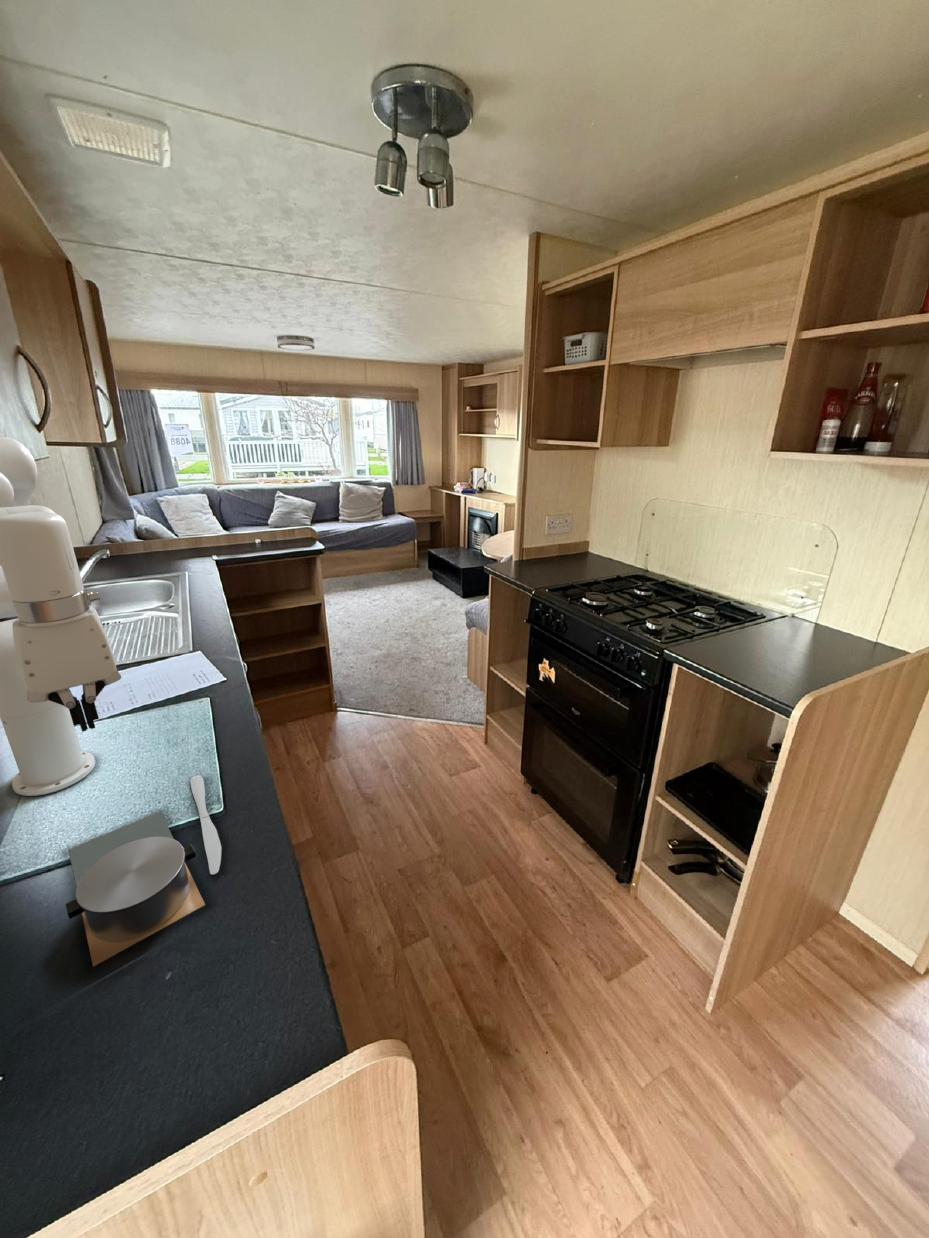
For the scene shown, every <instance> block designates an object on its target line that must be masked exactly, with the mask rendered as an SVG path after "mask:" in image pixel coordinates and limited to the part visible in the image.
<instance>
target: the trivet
mask: <svg viewBox="0 0 929 1238" xmlns="http://www.w3.org/2000/svg"><path fill="white" fill-rule="evenodd" d="M184 863H185V867H186V871H187V875H188V879H189V891H188V895H187V897H186V899H185V901H184V903H183V904H182V906H181V907H180V908H179V910H178V911H177V912H176V913H175V914H174V915H173V916H172V917H171V918H170V919H169V920H167V921H166V922H165V923H164V924H162V925H161V926H159V927H158V928H156V929H154V930H153V931H151V932H149V933H147V934H145V935H142V936H140V937H137V938H134V939H131V940H127V941H121V942H106V941H103V940H100V939H98V938H96V937H95V936H94V935H93V934H92V932H91V930H90V927H89V925H88V922H87V919H86V916H85V913H84V912H83V913H81V916H82V920H83V925H84V930H85V935H86V940H87V944H88V948H89V953H90V958H91V963H92V967H95V966H97V965H99V964H101V963H102V962H105V961H106V960H109V959H110V958H111V957H114V956H115V955H118V954H119V953H121V952H123V951H125V950H126V949H128V948H130V947H132V946H134V945H135V944H138V943H139V942H141V941H142V940H144V939H146V938H148V937H150V936H151V935H154V934H155V933H157V932H159V931H161V930H163V929H164V928H166V927H168V926H171V924H173V923H175V922H177V921H179V920H181V919H183V918H185V917H187V916H188V915H190V914H192V913H193V912H195V911H197V910H199V909H201V908H203V907H204V906H206V903H205V901H204V899H203V897H202V895H201V893H200V891H199V889H198V887H197V884H196V882H195V880H194V878H193V876H192V874H191V872H190V870H189V868H188V866H187V864H186V862H184Z"/></svg>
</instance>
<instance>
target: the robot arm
mask: <svg viewBox="0 0 929 1238" xmlns="http://www.w3.org/2000/svg"><path fill="white" fill-rule="evenodd" d="M38 474H39V473H38V466H37V463H36V461H35V458H34V457H33V455H32V453H31V452H30V450H29V449H28V448H27V447H26V446H25V445H24V444H23V443H21V442H20V441H18V440H17V439H14V438H13V437H12V438H11V437H8V436H0V619H5V618H11V617H15V616H17V618H13V619H9V620H8V619H7V620H4V621H0V721H1V725H2V727H3V730H4V733H5V736H6V738H7V741H8V745H9V746H10V750H11V752H12V755H13V758H14V761H15V764H16V766H17V769H18V773H17V774H16V775H15V776H14V777H13V779H12V781H11V787H12V789H13V791H14V793H16V794H18V795H21V796H25V797H26V796H27V797H33V796H35V797H36V796H42V795H48V794H52V793H54V792H59V791H61V790H63V789H66V788H68V787H70V786H73V785H75V784H76V783H78V782H79V781H82V780H83V779H84V778H86V777H87V776H89V774H90V773H91V772H93V769H94V768H95V766H96V759H95V756H94V755H93V754H92V753H90V752H88V751H83V750H82V747H81V743H80V740H79V736H78V733H77V731H76V727H75V726H79V727H80V729H81V732H86V731H87V730H89V729H90V730H93V729H96V724H95V721H96V720H99V719H100V717H99V713H98V710H97V706H96V703H95V702H96V701H97V697H98V696H99V695H100V694H101V692H102V691H103V690H104V688H105V687H107V686H109V685H112V684H115V683H117V682H118V681H120V680H121V679H122V675H121V674H120V672H119V670H118V669H117V664H116V660H115V656H114V653H113V652H114V651H113V648H112V645H111V644H110V643H111V642H110V639H109V637H108V635H107V632H106V629H105V627H104V625H103V622H102V619H101V617H100V615H99V613H98V611H97V610H96V608H95V607H90V606H92V604H94V603H96V602H100V601H101V597H100V594H99V592H98V591H87V590H85V587H84V583H83V579H82V576H81V572H80V568H79V565H78V561H77V557H76V554H75V551H74V546H73V542H72V538H71V534H70V530H69V528H68V524H67V521H66V519H64V518H63V517H62V516H61V515H60V514H57V513H56V512H55V511H53V509H52V508H49V507H48V506H44V505H38V504H37V505H36V504H34V505H33V504H32V505H31V504H30V505H27V504H28V502H29V499H30V497H31V495H32V494H33V492H34V490H35V488H36V485H37V482H38V476H39V475H38ZM79 686H82V694H81V696H80V697H81V699H80V700H79V699H78V698H77V697H76V696H74V695H73V692H72V691H71V688H75V687H79Z"/></svg>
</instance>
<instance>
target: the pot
mask: <svg viewBox="0 0 929 1238" xmlns="http://www.w3.org/2000/svg"><path fill="white" fill-rule="evenodd" d="M196 857H197V854H196V851H195V849H194V847H193V845H192V844H187V845H186V846H183V845H182V844H181V843H180V842H179V841H178V840H176V839H171V838H168V837H148V838H143V839H139V840H135V841H132V842H129V843H127V844H124V845H122V846H120V847H118V848H116V849H114V850H112V851H111V852H109V853H107V854H106V855H104V856H103V857H102V858H100V859H99V860H98V861H96V862H95V863H94V864H93V865H92V866H91V867H90V868H89V869H88V870H87V871H86V872H85V874H84V875H83V876H82V878H81V879H80V881H79V883H78V886H77V888H76V890H75V899H73V900H71V901H68V902H66V903H65V908H66V913H67V916H68V919H69V920H71V919H74V918H75V917H78V916H79V915H82V913H83V912H84V913H85V916H86V919H87V922H88V925H89V927H90V930H91V932H92V934H93V935H94V936H95V937H96V938H98V939H100V940H103V941H106V942H121V941H127V940H131V939H134V938H137V937H140V936H142V935H145V934H147V933H149V932H151V931H153V930H154V929H156V928H158V927H159V926H161V925H162V924H164V923H165V922H166V921H167V920H169V919H170V918H171V917H172V916H173V915H174V914H175V913H176V912H177V911H178V910H179V908H180V907H181V906H182V904H183V903H184V901H185V899H186V897H187V895H188V891H189V879H188V875H187V871H186V867H185V863H186V862H188V861H191V860H192V859H194V858H196ZM184 862H185V863H184Z"/></svg>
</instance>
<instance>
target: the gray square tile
mask: <svg viewBox="0 0 929 1238" xmlns="http://www.w3.org/2000/svg"><path fill="white" fill-rule="evenodd" d="M148 837H168V838H171V839H174V836H173V834H172V833H171V829H170V828H169V826H168V824H167V822H166V820H165V818H164V815H163V814H162V812H161V810H160V811H158V812H155V813H153V814H151V815H148V816H145V817H143V818H141V819H139V820H137V821H134V822H131V823H128V824H127V825H124V826H122V827H119V828H118V829H115V830H113V831H110V832H107V833H105V834H103V835H100V836H98V837H96V838H93V839H91V840H89V841H86V842H84V843H81V844H79V845H76V846H74V847H72V848H69V849H68V854H69V861H70V864H71V869H72V873H73V878H74V884H75V887H76V889H77V886H78V883H79V881H80V879H81V878H82V876H83V875H84V874H85V872H86V871H87V870H88V869H89V868H90V867H91V866H92V865H93V864H94V863H95V862H96V861H98V860H99V859H100V858H102V857H103V856H104V855H106V854H107V853H109V852H111V851H112V850H114V849H116V848H118V847H120V846H122V845H124V844H127V843H129V842H132V841H135V840H139V839H143V838H148ZM174 840H175V839H174Z"/></svg>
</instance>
